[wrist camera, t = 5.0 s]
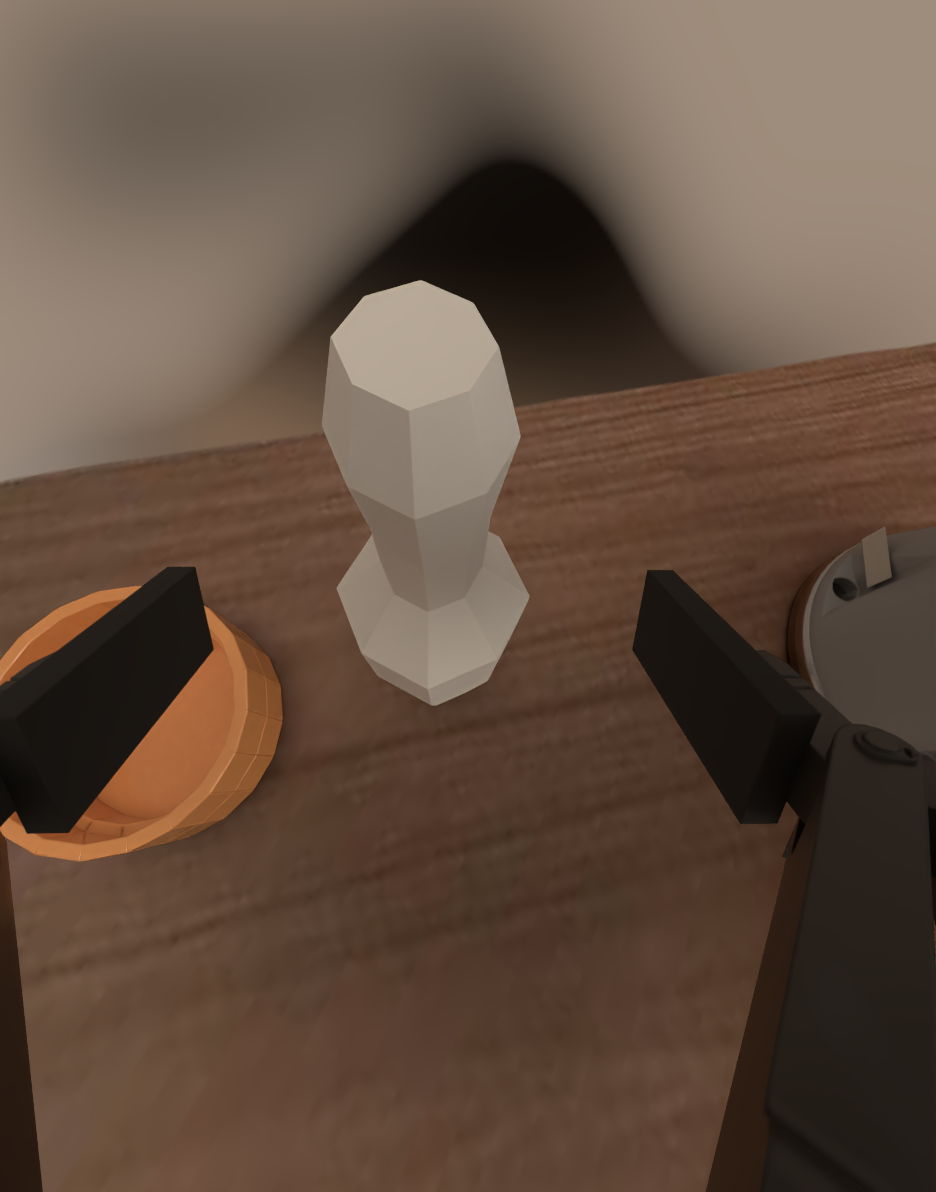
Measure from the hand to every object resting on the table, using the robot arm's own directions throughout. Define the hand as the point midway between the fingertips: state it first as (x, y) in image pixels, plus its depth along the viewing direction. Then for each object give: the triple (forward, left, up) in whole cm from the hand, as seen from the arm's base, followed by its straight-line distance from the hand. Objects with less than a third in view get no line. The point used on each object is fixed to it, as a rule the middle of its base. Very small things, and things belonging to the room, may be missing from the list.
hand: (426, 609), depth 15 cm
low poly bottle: (0, -1, -14) cm, 14 cm away
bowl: (+14, 0, -13) cm, 19 cm away
